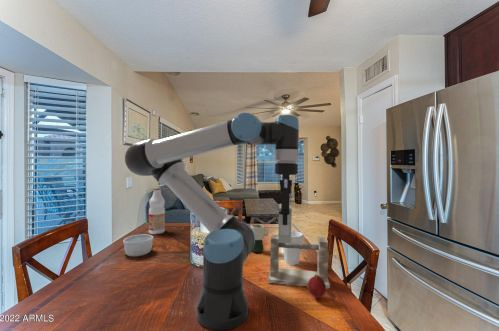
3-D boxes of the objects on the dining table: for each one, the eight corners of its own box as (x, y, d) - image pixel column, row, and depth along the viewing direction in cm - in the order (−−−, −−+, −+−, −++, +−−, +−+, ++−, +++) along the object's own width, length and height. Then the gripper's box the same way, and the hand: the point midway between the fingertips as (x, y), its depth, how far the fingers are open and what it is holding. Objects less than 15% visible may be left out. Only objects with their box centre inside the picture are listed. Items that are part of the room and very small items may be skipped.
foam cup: (278, 263, 106) (278, 234, 106) (285, 256, 114) (285, 229, 114) (299, 268, 102) (299, 238, 101) (304, 260, 110) (305, 232, 110)
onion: (312, 291, 84) (312, 268, 84) (328, 297, 80) (328, 273, 80) (304, 298, 79) (305, 274, 79) (321, 305, 75) (321, 280, 75)
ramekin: (131, 260, 107) (131, 244, 107) (117, 253, 115) (118, 238, 115) (158, 251, 118) (158, 237, 118) (144, 245, 126) (144, 232, 126)
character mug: (268, 249, 124) (268, 224, 123) (268, 254, 116) (268, 228, 116) (247, 248, 124) (247, 223, 124) (245, 253, 117) (246, 227, 117)
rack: (268, 283, 89) (269, 240, 88) (270, 271, 98) (270, 232, 98) (329, 289, 85) (330, 244, 85) (325, 276, 95) (326, 236, 95)
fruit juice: (160, 234, 144) (160, 188, 144) (145, 234, 145) (146, 188, 145) (167, 230, 154) (167, 187, 153) (153, 229, 155) (153, 186, 154)
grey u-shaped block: (278, 242, 76) (279, 208, 76) (279, 235, 84) (279, 203, 84) (290, 243, 75) (291, 208, 75) (290, 235, 83) (291, 204, 83)
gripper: (299, 162, 68) (297, 241, 69) (296, 162, 89) (295, 223, 89) (273, 162, 69) (271, 239, 70) (276, 162, 90) (275, 222, 90)
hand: (284, 230), depth 80 cm, fingers closed on grey u-shaped block, 8 cm apart
